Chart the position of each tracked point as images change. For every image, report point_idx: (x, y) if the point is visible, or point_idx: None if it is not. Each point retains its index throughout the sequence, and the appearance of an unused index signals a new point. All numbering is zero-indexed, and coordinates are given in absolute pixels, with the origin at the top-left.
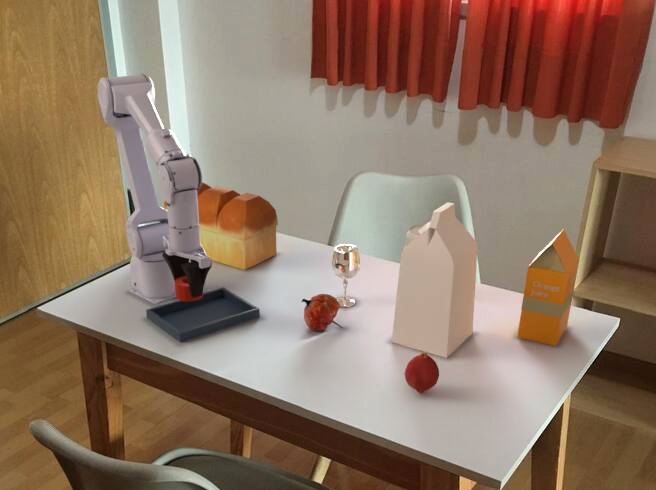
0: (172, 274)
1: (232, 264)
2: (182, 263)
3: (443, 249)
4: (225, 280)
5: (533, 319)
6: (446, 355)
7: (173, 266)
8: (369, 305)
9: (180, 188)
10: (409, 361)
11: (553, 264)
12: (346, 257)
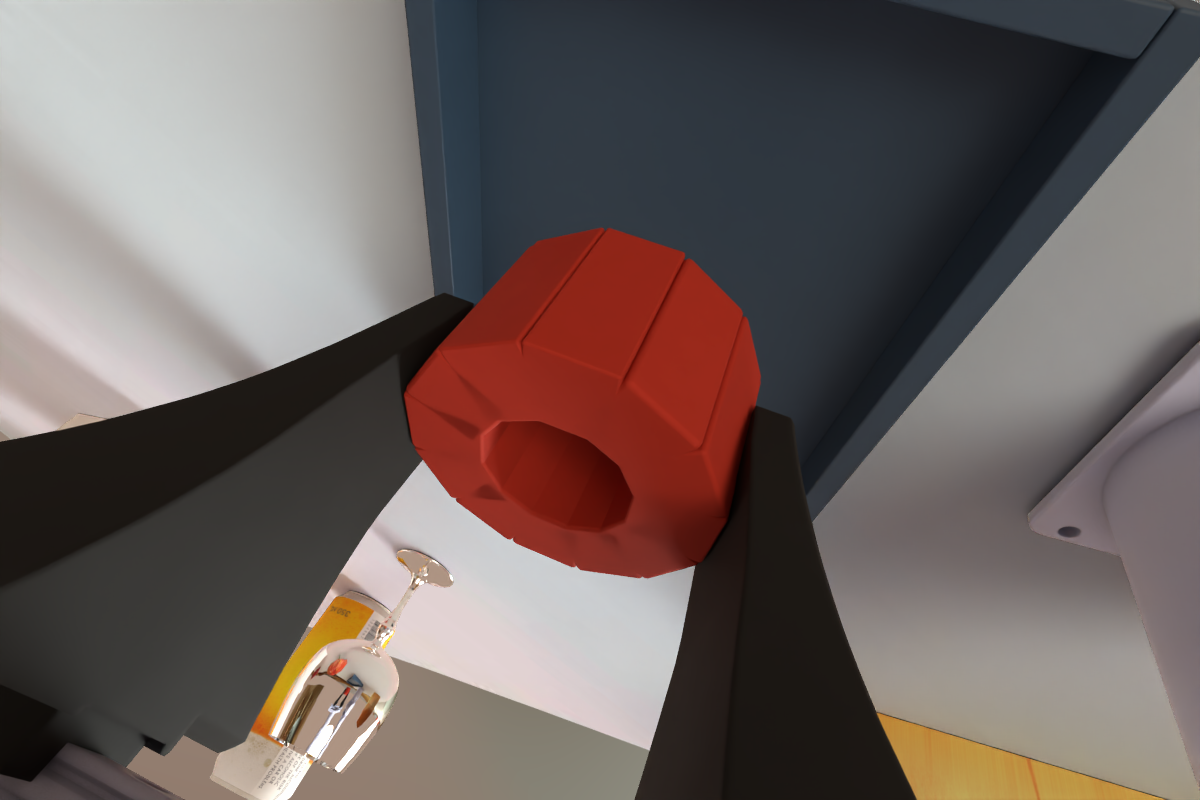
0: (807, 547)
1: (940, 740)
2: (670, 736)
3: None
4: (883, 647)
5: None
6: (72, 418)
7: (719, 678)
8: (381, 565)
9: None
10: None
11: None
12: (278, 714)
